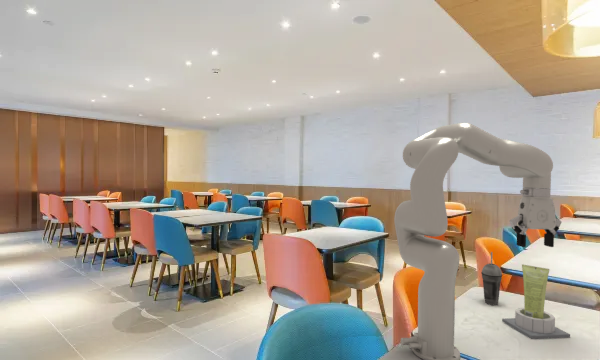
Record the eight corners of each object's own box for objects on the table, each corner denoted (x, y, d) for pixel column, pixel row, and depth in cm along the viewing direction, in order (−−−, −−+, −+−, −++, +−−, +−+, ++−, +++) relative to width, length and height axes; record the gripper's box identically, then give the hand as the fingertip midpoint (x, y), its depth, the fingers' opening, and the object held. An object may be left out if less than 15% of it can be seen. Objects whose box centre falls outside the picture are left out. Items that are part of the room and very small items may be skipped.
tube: (538, 322, 115) (539, 264, 115) (548, 329, 110) (549, 268, 110) (520, 322, 115) (521, 264, 115) (530, 329, 110) (531, 268, 110)
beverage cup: (481, 305, 134) (482, 253, 134) (480, 299, 141) (480, 250, 140) (503, 308, 131) (504, 255, 131) (500, 301, 138) (501, 251, 137)
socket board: (531, 339, 106) (531, 322, 106) (502, 321, 119) (502, 306, 119) (570, 337, 107) (570, 321, 107) (537, 320, 120) (537, 305, 120)
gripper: (520, 193, 108) (518, 248, 108) (570, 194, 110) (569, 248, 110) (503, 192, 115) (502, 244, 115) (551, 193, 117) (550, 244, 117)
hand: (535, 246), depth 112 cm, fingers open, 9 cm apart
